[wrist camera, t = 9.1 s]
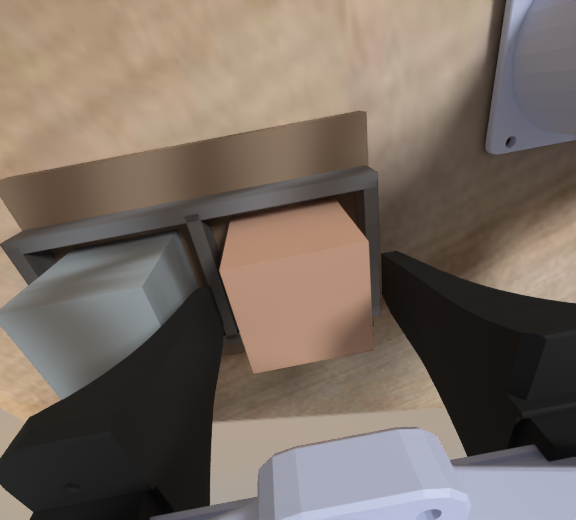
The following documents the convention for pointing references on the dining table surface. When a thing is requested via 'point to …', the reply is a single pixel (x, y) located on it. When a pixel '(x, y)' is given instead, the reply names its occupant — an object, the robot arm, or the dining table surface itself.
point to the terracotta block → (298, 284)
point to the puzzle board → (190, 175)
